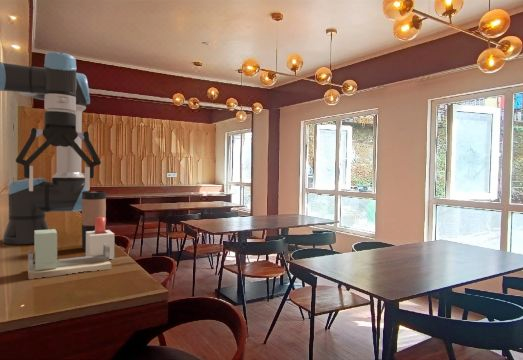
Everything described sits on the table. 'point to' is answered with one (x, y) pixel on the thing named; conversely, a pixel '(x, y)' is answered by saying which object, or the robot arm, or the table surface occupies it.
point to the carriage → (45, 249)
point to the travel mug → (92, 211)
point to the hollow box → (99, 243)
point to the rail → (71, 265)
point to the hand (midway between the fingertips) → (60, 190)
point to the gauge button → (99, 225)
